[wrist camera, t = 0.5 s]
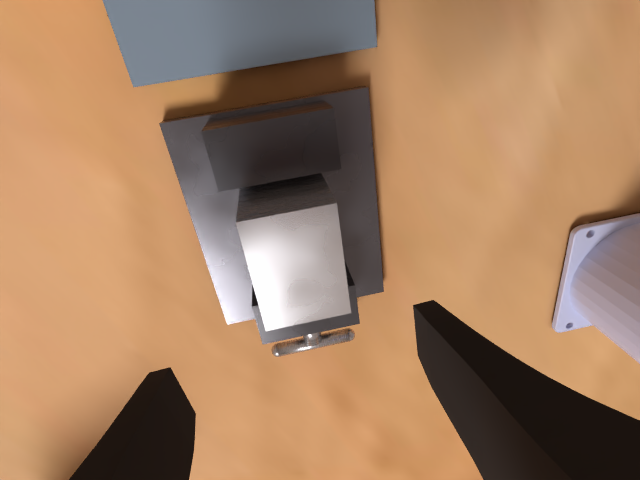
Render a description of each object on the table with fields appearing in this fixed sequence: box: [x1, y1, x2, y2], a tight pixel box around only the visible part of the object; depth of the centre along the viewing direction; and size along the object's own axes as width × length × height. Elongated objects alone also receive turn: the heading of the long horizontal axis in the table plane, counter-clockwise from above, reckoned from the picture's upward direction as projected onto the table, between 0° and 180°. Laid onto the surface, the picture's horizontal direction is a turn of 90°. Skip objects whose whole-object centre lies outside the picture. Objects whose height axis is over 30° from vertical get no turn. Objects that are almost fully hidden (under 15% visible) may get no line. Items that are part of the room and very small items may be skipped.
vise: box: [159, 86, 384, 357], centre depth 18 cm, size 9×13×3 cm
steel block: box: [236, 173, 351, 331], centre depth 16 cm, size 4×5×5 cm
